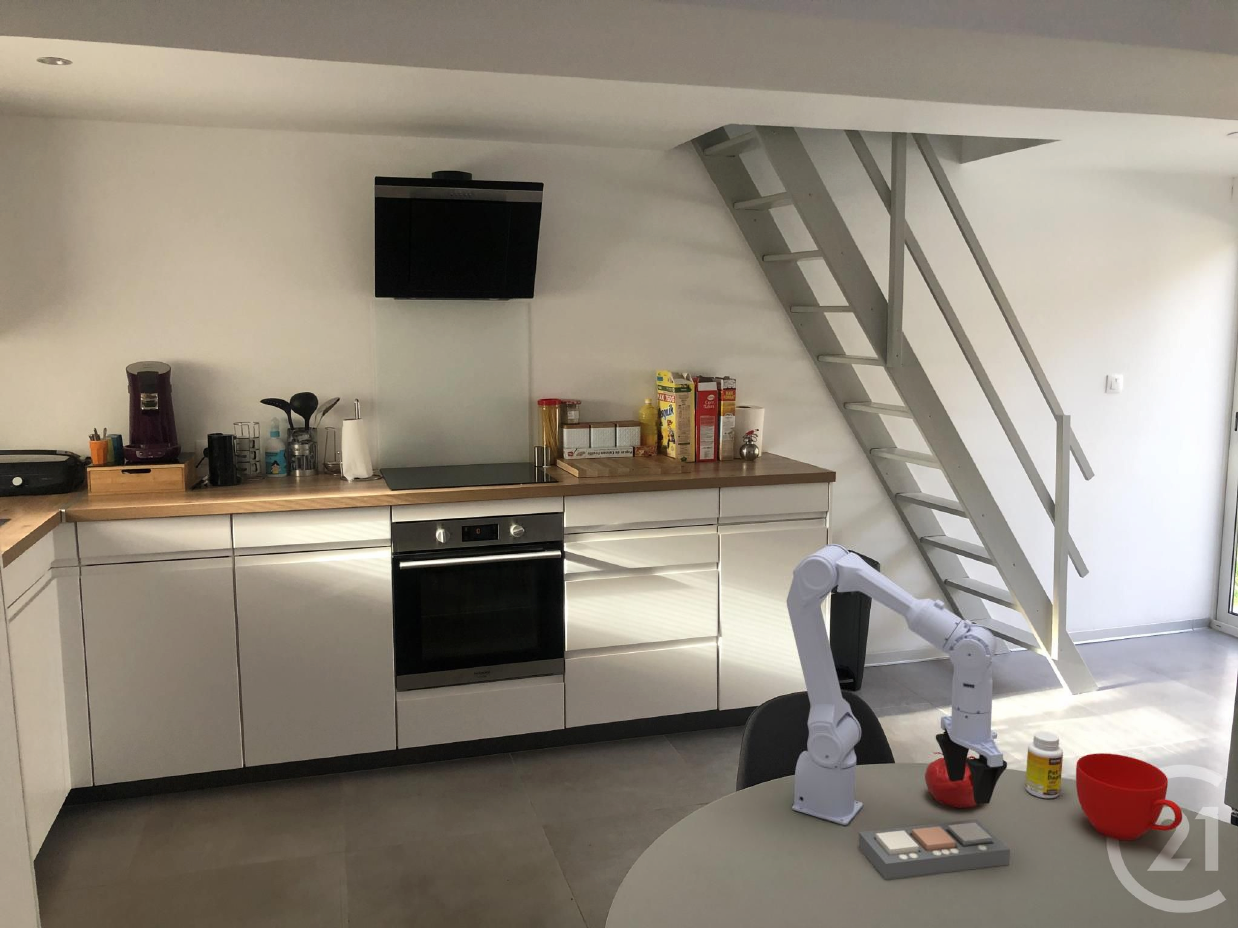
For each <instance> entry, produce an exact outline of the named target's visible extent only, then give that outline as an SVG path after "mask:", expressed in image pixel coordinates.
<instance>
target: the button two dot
mask: <svg viewBox="0 0 1238 928" xmlns="http://www.w3.org/2000/svg"><path fill="white" fill-rule="evenodd" d="M876 842H877V843H878V844H879V845H880V846H881V847H882V848H883V850H884V851H885V852H886V853H887V854H888V855H889V856H891V855H900V854H908V853H917V852H919V846H918V845H917V844H916V843H915V842H914V841H913V840H912V838H911V837H910V836H909V835H908V834H907V833H906V832H905V831H904V830H903V831H894V832H885V833H876Z"/></svg>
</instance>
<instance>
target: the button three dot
mask: <svg viewBox="0 0 1238 928" xmlns="http://www.w3.org/2000/svg"><path fill="white" fill-rule="evenodd" d="M912 837H913V838H914V839H915V840H916V841H917V842H918V843H919V844H920V845H921V846H922V847H923V848H924V850H925V851H934V850H943V849H951V848H955V843H956V842H955V841H954V840H953V839H952V838H951V837H950V836H949V835H948V834H947V833H946V832H945V831H944V830H943V829H942V828H941V827H940V826H939V827H930V828H921V829H912Z"/></svg>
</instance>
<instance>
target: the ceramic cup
mask: <svg viewBox="0 0 1238 928" xmlns="http://www.w3.org/2000/svg"><path fill="white" fill-rule="evenodd" d="M1075 767H1076V768H1075V786H1076V794H1077V799H1078V802H1079V805H1080V807H1081V809H1082V811H1083V814H1084V815H1085V817H1086V818H1087V820H1088V821H1089V822H1090V823H1091V825H1092V826H1093V828H1094V829H1095V831H1097V832H1098V833H1099V834H1101V835H1104V836H1105V837H1109V838H1111V839H1115V840H1120V841H1133V840H1136V839H1138V838H1139V837H1141V836H1142V835H1144V834H1145V833H1147V832H1148V831H1149V830H1154V831H1162V832H1164V831H1165V832H1166V831H1171V830H1174V829H1176V828H1178V827H1179V826H1180V825H1181V823H1182V821H1183V812H1182V809H1181V808H1180V805H1178V804H1177V803H1176V802H1175V801H1172V800H1170V799H1166V796H1167V792H1168V791H1167V790H1168V786H1169V785H1168V783H1169V782H1168V781H1169V779H1168V776H1167V775H1166V773H1164V772H1163V771H1162V770H1161V769H1159V768H1158V767H1156V766H1155V765H1153V764H1151V763H1149V762H1146V761H1144V760H1140V759H1138V758H1135V757H1132V756H1128V755H1121V754H1118V753H1107V752H1106V753H1103V752H1102V753H1100V752H1097V753H1091V754H1090V753H1089V754H1085V755H1083V756H1081V757H1080V758H1079V759H1078V760H1077V761H1076V765H1075ZM1164 806H1168V807H1169V808H1170V809H1171V810H1172V811H1173V814H1174V820H1173V822H1172V823H1170V824H1168V825H1164V824H1163V825H1162V824H1157V821H1158V819H1159V817H1160V816H1161V813H1162V811H1163V808H1164Z"/></svg>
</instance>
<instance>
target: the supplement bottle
mask: <svg viewBox="0 0 1238 928" xmlns="http://www.w3.org/2000/svg"><path fill="white" fill-rule="evenodd" d="M1059 745H1060V737H1059V736H1058V735H1057V734H1055V733H1053V732H1049V731H1036V732H1034V735H1033V741H1032V742H1030V743H1029V744H1028V746H1027V754H1026V755H1027V756H1026V770H1025V784H1024V785H1025V789H1026V791H1027V792H1028V793H1029V794H1031V795H1033V796H1035V797H1037V798H1043V799H1053V798H1056V797H1058V796H1059V795H1060V793H1061V784H1062V770H1063V761H1064V760H1063V758H1064V752H1063V749H1062V747H1061V746H1059Z"/></svg>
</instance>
